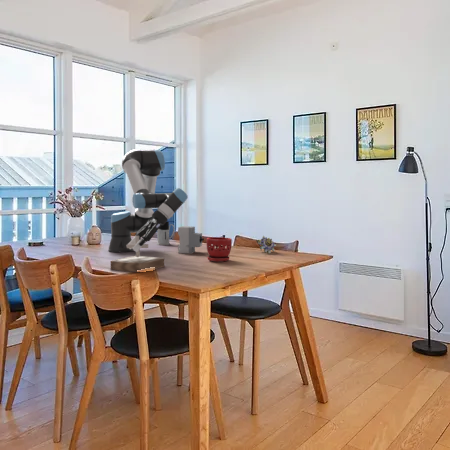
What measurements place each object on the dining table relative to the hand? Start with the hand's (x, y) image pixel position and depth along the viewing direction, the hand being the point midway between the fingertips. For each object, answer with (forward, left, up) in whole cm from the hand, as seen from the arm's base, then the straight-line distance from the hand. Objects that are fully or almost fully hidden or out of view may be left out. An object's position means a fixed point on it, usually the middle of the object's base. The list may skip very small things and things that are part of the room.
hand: (131, 249), depth 223 cm
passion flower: (+36, +78, -10) cm, 86 cm away
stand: (+2, +2, -9) cm, 10 cm away
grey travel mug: (-38, +82, -10) cm, 91 cm away
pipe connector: (+2, +3, -4) cm, 5 cm away
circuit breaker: (-3, +58, -10) cm, 59 cm away
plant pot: (+26, +39, -10) cm, 48 cm away
